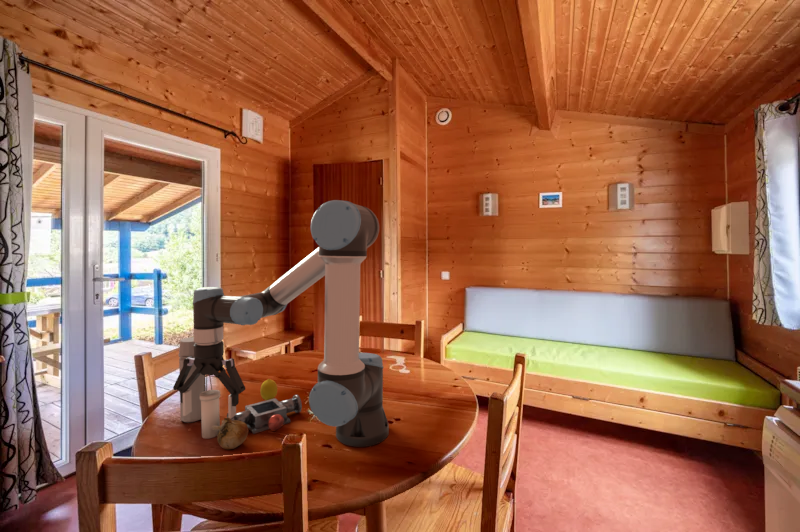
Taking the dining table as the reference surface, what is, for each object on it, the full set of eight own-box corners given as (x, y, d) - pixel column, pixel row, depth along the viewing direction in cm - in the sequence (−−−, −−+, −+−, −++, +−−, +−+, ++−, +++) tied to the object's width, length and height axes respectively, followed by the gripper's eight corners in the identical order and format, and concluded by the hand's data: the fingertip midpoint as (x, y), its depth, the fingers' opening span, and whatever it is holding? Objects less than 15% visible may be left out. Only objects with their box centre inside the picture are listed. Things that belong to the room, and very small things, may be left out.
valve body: (310, 421, 112) (309, 403, 112) (238, 444, 99) (238, 424, 99) (291, 406, 123) (291, 389, 123) (224, 424, 110) (224, 406, 110)
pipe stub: (223, 435, 104) (222, 393, 103) (202, 441, 101) (201, 398, 100) (218, 428, 108) (217, 388, 108) (198, 433, 105) (197, 392, 104)
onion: (235, 456, 93) (234, 425, 93) (209, 451, 96) (208, 421, 95) (254, 441, 101) (254, 413, 100) (230, 437, 103) (229, 409, 102)
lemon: (271, 405, 124) (271, 382, 123) (257, 404, 125) (256, 381, 124) (280, 399, 129) (280, 376, 129) (266, 397, 130) (266, 375, 130)
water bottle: (176, 425, 109) (174, 343, 108) (184, 414, 117) (182, 337, 116) (210, 421, 112) (208, 341, 111) (215, 410, 120) (214, 335, 118)
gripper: (257, 340, 106) (257, 411, 107) (177, 336, 108) (177, 406, 109) (244, 347, 98) (244, 424, 99) (157, 343, 101) (159, 418, 102)
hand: (209, 415), depth 104 cm, fingers open, 13 cm apart
